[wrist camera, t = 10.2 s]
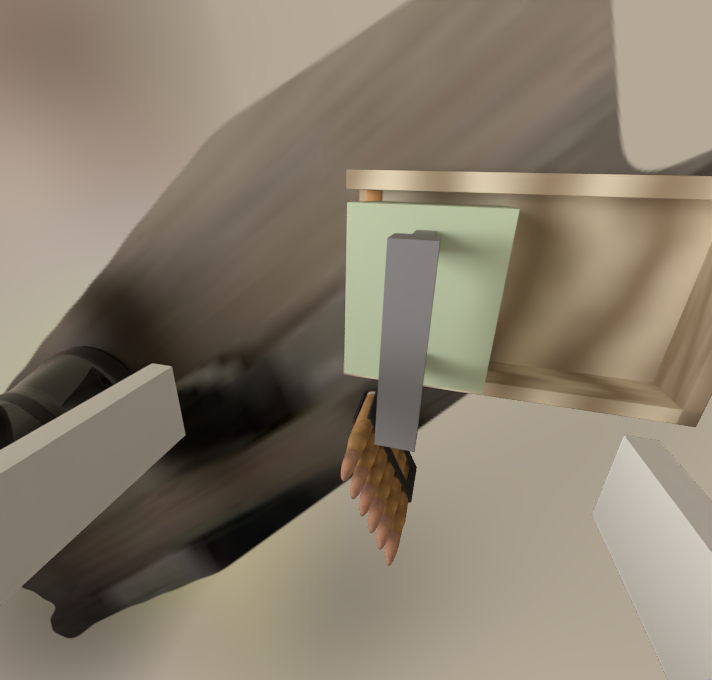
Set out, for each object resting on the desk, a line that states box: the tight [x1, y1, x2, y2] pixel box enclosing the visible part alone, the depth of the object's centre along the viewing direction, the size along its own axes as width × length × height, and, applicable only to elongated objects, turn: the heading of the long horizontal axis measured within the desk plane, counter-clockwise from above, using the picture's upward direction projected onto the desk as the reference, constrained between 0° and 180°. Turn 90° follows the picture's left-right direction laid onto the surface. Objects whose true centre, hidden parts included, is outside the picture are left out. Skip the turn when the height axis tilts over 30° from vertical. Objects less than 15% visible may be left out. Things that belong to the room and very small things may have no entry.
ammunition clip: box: [341, 388, 417, 566], centre depth 32 cm, size 11×2×12 cm, turn 25°
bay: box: [343, 170, 712, 427], centre depth 27 cm, size 26×16×5 cm, turn 88°
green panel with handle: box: [344, 201, 520, 452], centre depth 22 cm, size 10×12×16 cm
